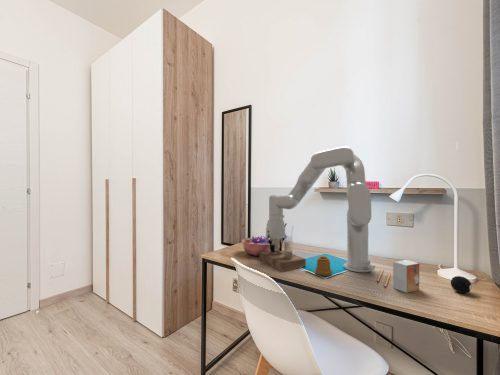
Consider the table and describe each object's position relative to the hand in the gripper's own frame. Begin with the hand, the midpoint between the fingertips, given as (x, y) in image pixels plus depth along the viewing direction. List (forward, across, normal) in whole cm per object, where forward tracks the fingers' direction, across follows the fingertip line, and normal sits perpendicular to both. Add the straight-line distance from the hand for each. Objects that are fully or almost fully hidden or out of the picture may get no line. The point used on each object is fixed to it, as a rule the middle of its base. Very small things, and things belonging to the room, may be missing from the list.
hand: (275, 250), depth 132 cm
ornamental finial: (+6, -8, +27) cm, 29 cm away
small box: (+6, -24, +55) cm, 60 cm away
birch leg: (+4, 0, 0) cm, 4 cm away
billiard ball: (+6, -39, +67) cm, 78 cm away
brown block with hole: (+5, 0, +5) cm, 7 cm away
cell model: (+5, +3, -15) cm, 16 cm away
